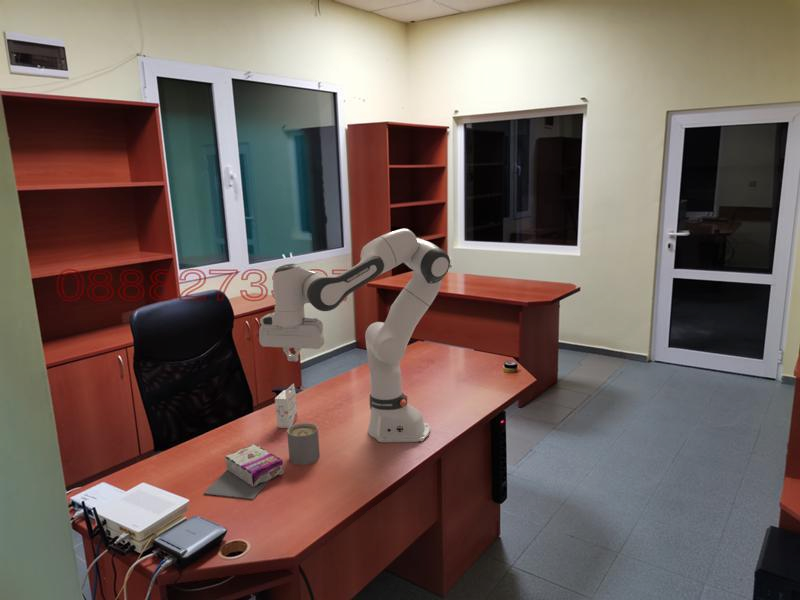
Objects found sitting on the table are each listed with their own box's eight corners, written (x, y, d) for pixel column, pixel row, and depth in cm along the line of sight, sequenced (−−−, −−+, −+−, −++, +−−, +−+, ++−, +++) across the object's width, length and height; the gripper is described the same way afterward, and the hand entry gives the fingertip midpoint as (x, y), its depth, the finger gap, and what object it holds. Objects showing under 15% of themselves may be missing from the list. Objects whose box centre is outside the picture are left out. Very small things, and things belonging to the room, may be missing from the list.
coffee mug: (307, 467, 180) (305, 438, 178) (283, 460, 185) (280, 432, 182) (331, 449, 191) (329, 422, 189) (308, 443, 196) (306, 416, 194)
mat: (277, 471, 178) (276, 470, 178) (253, 499, 163) (253, 498, 163) (231, 467, 181) (230, 466, 181) (203, 494, 166) (203, 493, 166)
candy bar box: (284, 474, 176) (256, 456, 187) (283, 459, 174) (255, 442, 186) (252, 488, 168) (225, 469, 179) (251, 473, 167) (224, 455, 178)
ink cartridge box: (285, 418, 217) (283, 382, 214) (297, 418, 216) (295, 382, 213) (276, 427, 209) (273, 390, 206) (289, 428, 208) (286, 391, 205)
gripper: (325, 316, 172) (328, 359, 175) (264, 314, 177) (267, 356, 180) (318, 321, 166) (321, 365, 169) (255, 319, 171) (258, 362, 174)
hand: (293, 360), depth 175 cm, fingers closed
